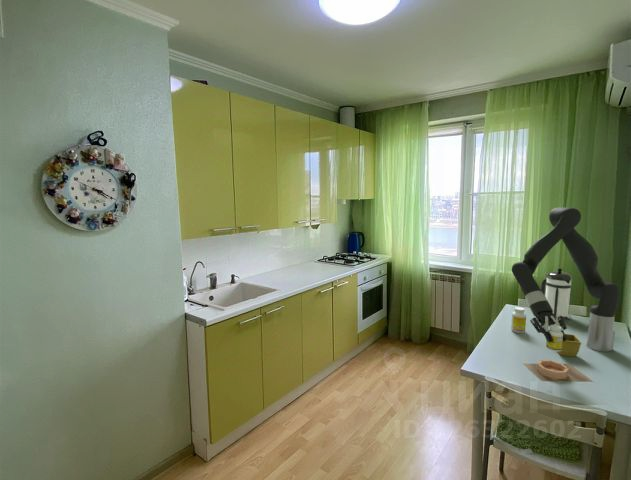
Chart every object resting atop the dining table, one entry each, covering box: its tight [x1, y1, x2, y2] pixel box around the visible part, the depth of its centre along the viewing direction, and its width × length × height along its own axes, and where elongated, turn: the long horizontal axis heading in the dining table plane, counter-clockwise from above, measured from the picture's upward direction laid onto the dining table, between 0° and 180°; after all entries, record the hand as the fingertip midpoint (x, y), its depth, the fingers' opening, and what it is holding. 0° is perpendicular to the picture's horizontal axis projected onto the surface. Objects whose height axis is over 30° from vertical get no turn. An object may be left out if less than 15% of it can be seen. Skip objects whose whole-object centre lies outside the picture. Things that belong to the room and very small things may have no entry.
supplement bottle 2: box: [545, 324, 563, 352], centre depth 144 cm, size 5×5×10 cm
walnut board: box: [523, 363, 594, 382], centre depth 146 cm, size 20×14×1 cm
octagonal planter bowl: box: [536, 359, 569, 379], centre depth 146 cm, size 10×10×3 cm
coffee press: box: [540, 267, 573, 320], centre depth 210 cm, size 17×16×30 cm
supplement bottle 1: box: [510, 306, 527, 334], centre depth 190 cm, size 7×7×13 cm
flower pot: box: [556, 333, 582, 357], centre depth 162 cm, size 9×9×9 cm
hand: (558, 341), depth 142 cm, fingers closed on supplement bottle 2, 5 cm apart
